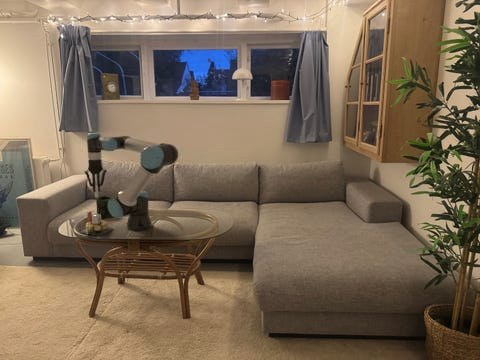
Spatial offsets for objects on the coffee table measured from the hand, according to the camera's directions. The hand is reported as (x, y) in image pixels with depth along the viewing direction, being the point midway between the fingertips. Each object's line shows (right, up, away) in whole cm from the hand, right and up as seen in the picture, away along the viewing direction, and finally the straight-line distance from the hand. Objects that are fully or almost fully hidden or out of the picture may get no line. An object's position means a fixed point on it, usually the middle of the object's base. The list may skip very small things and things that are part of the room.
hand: (96, 196), depth 228 cm
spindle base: (+2, -20, -5) cm, 21 cm away
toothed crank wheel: (+1, -19, -4) cm, 19 cm away
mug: (-5, -14, +26) cm, 30 cm away
